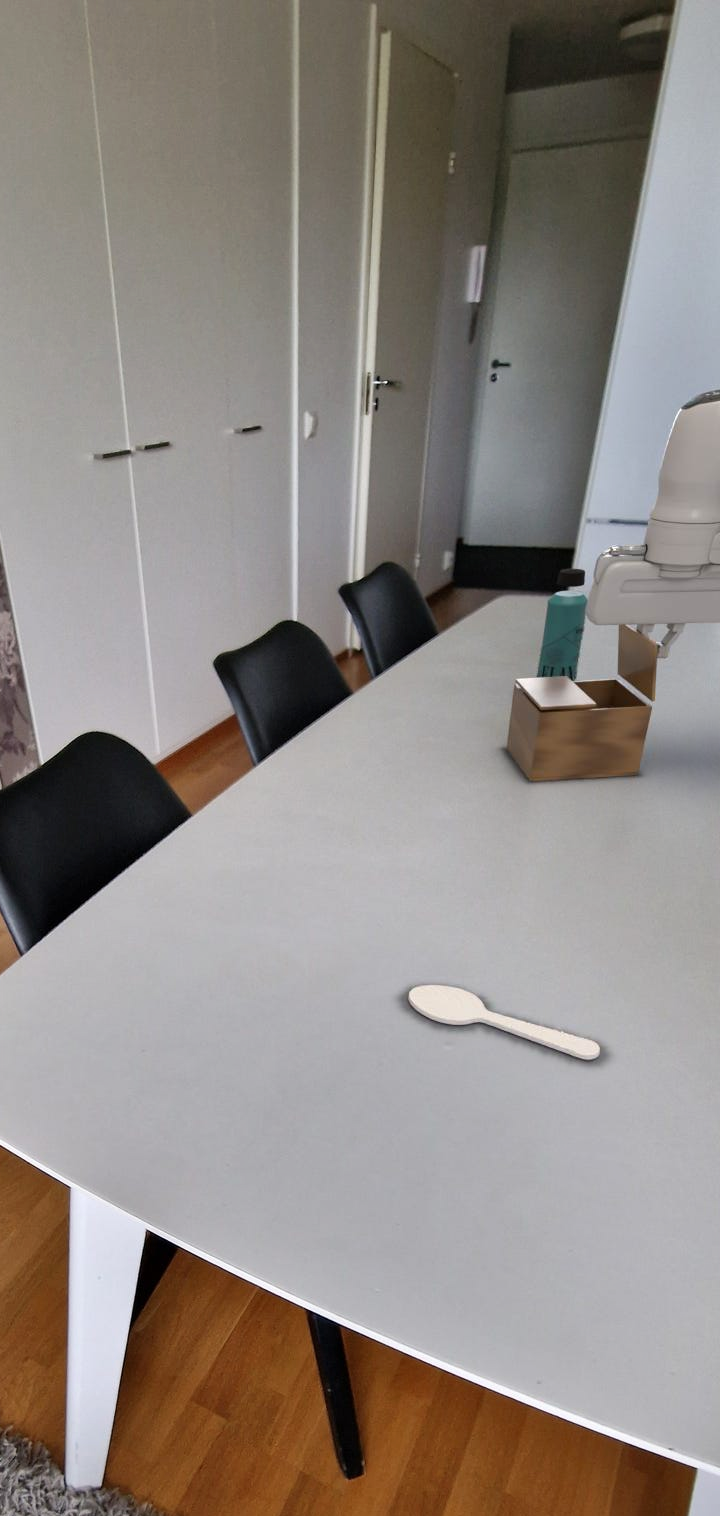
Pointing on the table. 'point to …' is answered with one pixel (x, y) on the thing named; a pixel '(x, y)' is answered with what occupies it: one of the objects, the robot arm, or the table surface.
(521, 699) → the carton
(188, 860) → the table surface
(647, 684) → the flap
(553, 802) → the table surface
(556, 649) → the beverage bottle
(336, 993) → the table surface
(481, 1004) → the spoon
